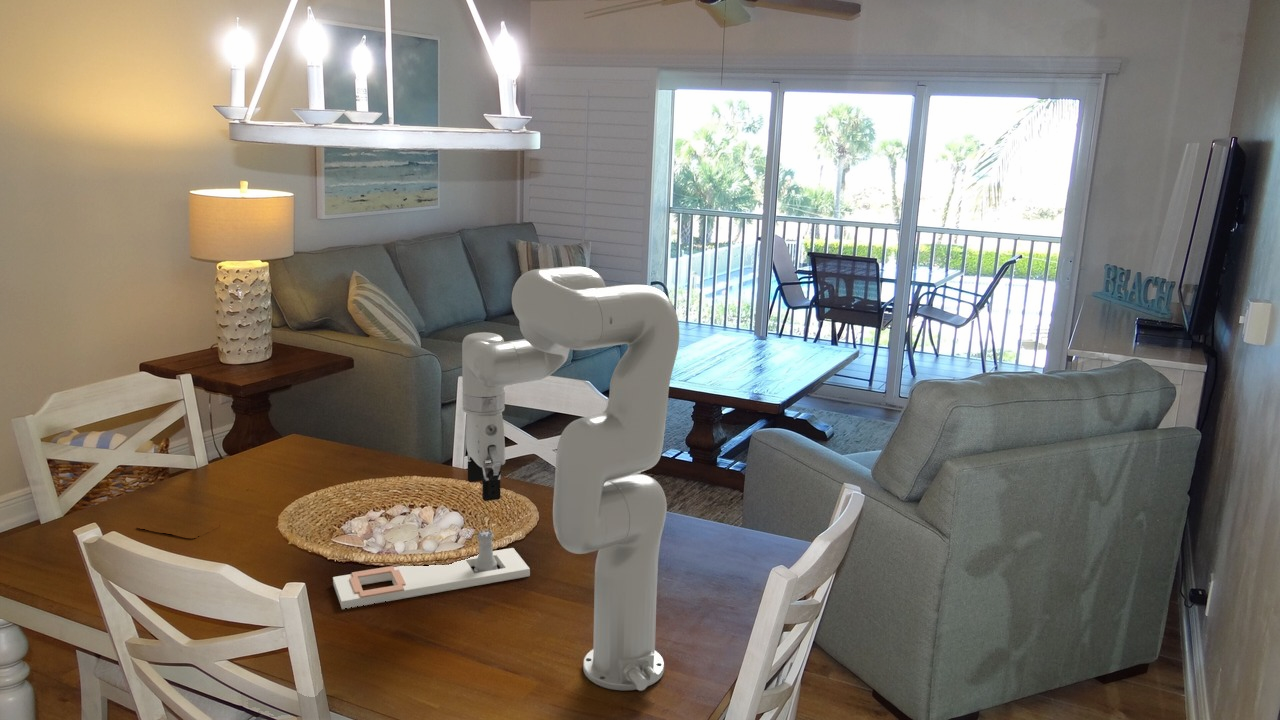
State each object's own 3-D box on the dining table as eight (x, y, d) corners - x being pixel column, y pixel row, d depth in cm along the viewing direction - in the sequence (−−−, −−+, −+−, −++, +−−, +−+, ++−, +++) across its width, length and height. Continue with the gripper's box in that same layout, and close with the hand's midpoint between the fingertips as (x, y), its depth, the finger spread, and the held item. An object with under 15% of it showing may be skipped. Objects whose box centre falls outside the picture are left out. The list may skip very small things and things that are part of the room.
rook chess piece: (493, 578, 181) (492, 537, 179) (470, 575, 182) (469, 535, 180) (501, 567, 185) (500, 528, 183) (478, 565, 186) (478, 526, 184)
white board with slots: (529, 576, 182) (529, 567, 182) (341, 609, 168) (341, 599, 167) (513, 554, 191) (513, 546, 190) (333, 584, 176) (332, 575, 176)
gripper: (518, 413, 170) (517, 504, 174) (489, 387, 185) (489, 471, 189) (476, 417, 167) (476, 510, 171) (450, 390, 182) (451, 476, 186)
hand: (483, 490), depth 180 cm, fingers open, 9 cm apart
